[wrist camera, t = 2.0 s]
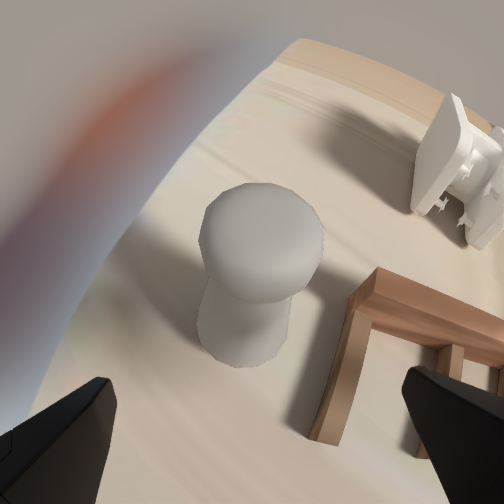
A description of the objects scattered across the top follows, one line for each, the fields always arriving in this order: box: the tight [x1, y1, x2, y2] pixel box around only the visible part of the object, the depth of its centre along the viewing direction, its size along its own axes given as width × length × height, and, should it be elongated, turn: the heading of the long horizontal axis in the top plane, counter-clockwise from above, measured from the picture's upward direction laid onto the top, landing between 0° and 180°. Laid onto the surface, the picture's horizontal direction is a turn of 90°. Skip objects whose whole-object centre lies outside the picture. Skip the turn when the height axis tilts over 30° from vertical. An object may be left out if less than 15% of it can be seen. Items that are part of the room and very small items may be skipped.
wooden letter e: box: [308, 267, 504, 459], centre depth 16 cm, size 12×20×5 cm, turn 69°
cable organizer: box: [410, 93, 504, 251], centre depth 25 cm, size 15×11×12 cm
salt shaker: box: [196, 183, 324, 368], centre depth 15 cm, size 6×6×13 cm
